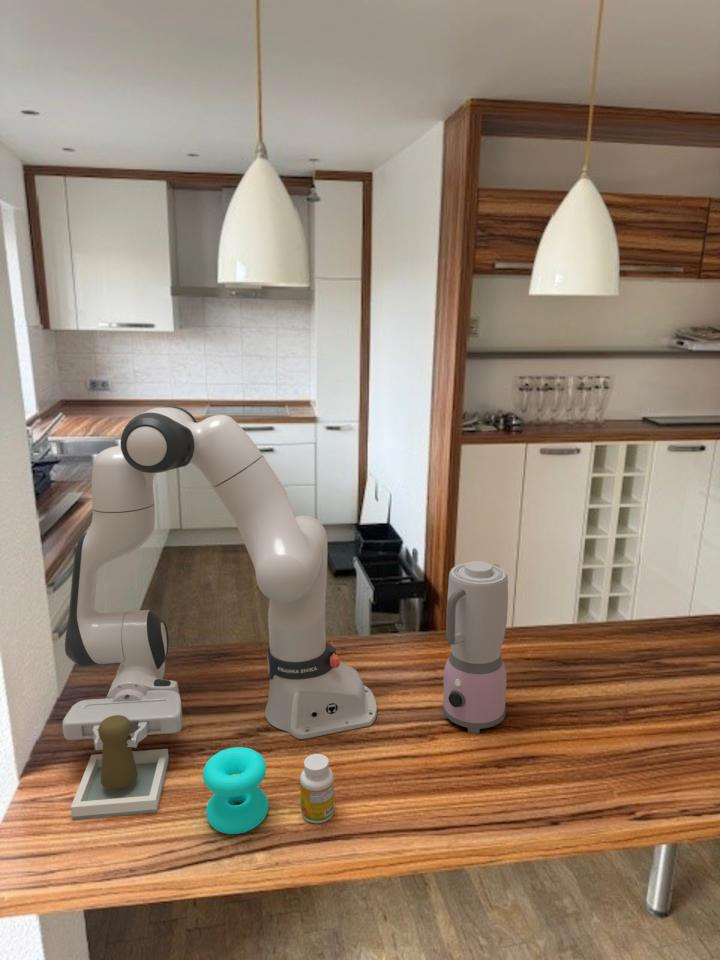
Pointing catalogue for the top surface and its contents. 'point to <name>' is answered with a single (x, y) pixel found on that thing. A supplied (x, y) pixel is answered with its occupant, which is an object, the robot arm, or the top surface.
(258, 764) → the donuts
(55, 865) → the top surface
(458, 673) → the blender
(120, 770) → the olive brown pawn
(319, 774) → the supplement bottle
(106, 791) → the picture frame
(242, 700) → the top surface
